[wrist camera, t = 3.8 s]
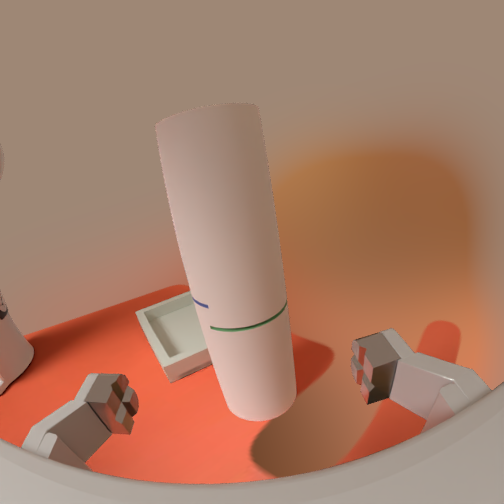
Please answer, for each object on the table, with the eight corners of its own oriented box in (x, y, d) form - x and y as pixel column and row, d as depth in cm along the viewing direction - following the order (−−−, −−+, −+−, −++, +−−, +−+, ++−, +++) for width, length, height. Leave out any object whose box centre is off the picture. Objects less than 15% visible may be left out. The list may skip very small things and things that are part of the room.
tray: (170, 383, 28) (163, 367, 27) (140, 324, 41) (135, 311, 40) (283, 326, 36) (281, 311, 35) (225, 290, 49) (222, 277, 48)
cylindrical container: (260, 362, 30) (216, 125, 22) (311, 387, 25) (280, 105, 17) (212, 397, 25) (139, 134, 17) (261, 433, 20) (190, 102, 12)
